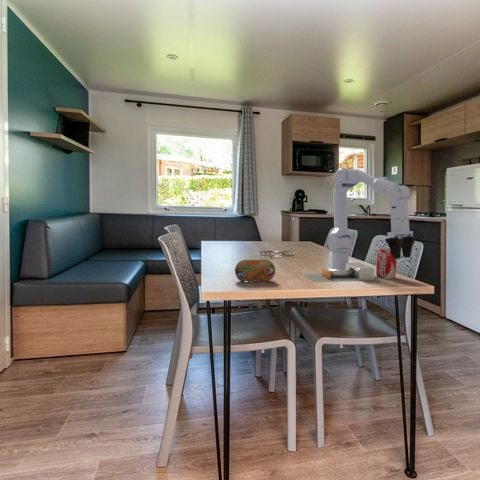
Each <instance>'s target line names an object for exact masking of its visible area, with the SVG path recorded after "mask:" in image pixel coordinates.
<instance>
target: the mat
mask: <svg viewBox="0 0 480 480" xmlns="http://www.w3.org/2000/svg"><path fill="white" fill-rule="evenodd" d="M302 275H303V276H304V277H305V278H307V279H308V280H310V281H311V282H313V283H321V282H324V283H326V282H327V283H329V282H331V283H332V282H338V283H339V282H381V280H380V279H377V278H375V277H374V280H357V279H355V278H354V277H330V279H326V278H324V277H323V276H322V273H302Z"/></svg>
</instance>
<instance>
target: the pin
mask: <svg viewBox="0 0 480 480" xmlns="http://www.w3.org/2000/svg"><path fill="white" fill-rule="evenodd" d="M321 274H322V276H323V277H324V278H326V279H330V277H355V269H348V270H329V269H327V268H325V267H324V268H323V267H322V268H321Z"/></svg>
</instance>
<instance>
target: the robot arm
mask: <svg viewBox="0 0 480 480" xmlns="http://www.w3.org/2000/svg"><path fill="white" fill-rule="evenodd" d="M333 183H334V184H333V190H332V191H333V230H332V231H331V232H329V234H328V235H329V236H328V240H327V245H328V248H329V250H330V252H329V254H328V267H326V269H327V270H345V267H346V263H350V262H349V261H350V260H349V259H350V252H351V250H352V248H353V247H354V239H353V235H352V234H353V233H352V232H351V231H350V230H349V229H348V195H347V193H348V192H349V191H350V189H352V188H354V187H355V186H357V185H359V183H364V184H365V185H368V186H370V187H372V190H373V192H375V193H376V194H379V195H381V196H383V197H384V198H386V201H388V206H389V208H390V209H389V210H390V228H391V229H390V230H391V232H386V233H387V238H385V239H384V240H385V243H386V244H387V246H388V248H390V250H391V253H392V256H393V259H397V260H398V259H399V260H400V259H401V256H402V255H403V256H402V257H403V258H411V255H412V252H413V250H412V249H413V247H414V245H415V241H416V240H417V237H416V236H414V234H413V233H414V231H412V230H410V219H409V217H410V215H409V214H410V213H409V200H410V198H411V196H412V191H411V189H410V187H408V186H407V185H403V184H402V185H399V183H398V182H397V181H394V182H393V181H391V180H390V179H389V178H388V177H386V176H383V177H379V178H377V177H375V176H373V175H371V174H370V173H367V172H365V171H364V170H361V169H359V168H354V169H353V168H344V167H340V168H338V169H337V170H336V171H335V173H334V174H333Z"/></svg>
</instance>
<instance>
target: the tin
mask: <svg viewBox="0 0 480 480" xmlns="http://www.w3.org/2000/svg"><path fill="white" fill-rule="evenodd" d="M234 273H235V276H236V278H237V280H239V281H240V282H242V281H248V282H247V283H250V282H249V281H253V282H252V283H262V282H261V281H264V282H263V283H266V281H267V282H269V281H271V280H272V279H273V278H274V276H275V274H276V267H275V264H274V263H273V262H272V261H270V260H269V259H265V258H264V259H263V258H261V259H242V260H240V261H239V262H237V264H236V265H235V267H234Z"/></svg>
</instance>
